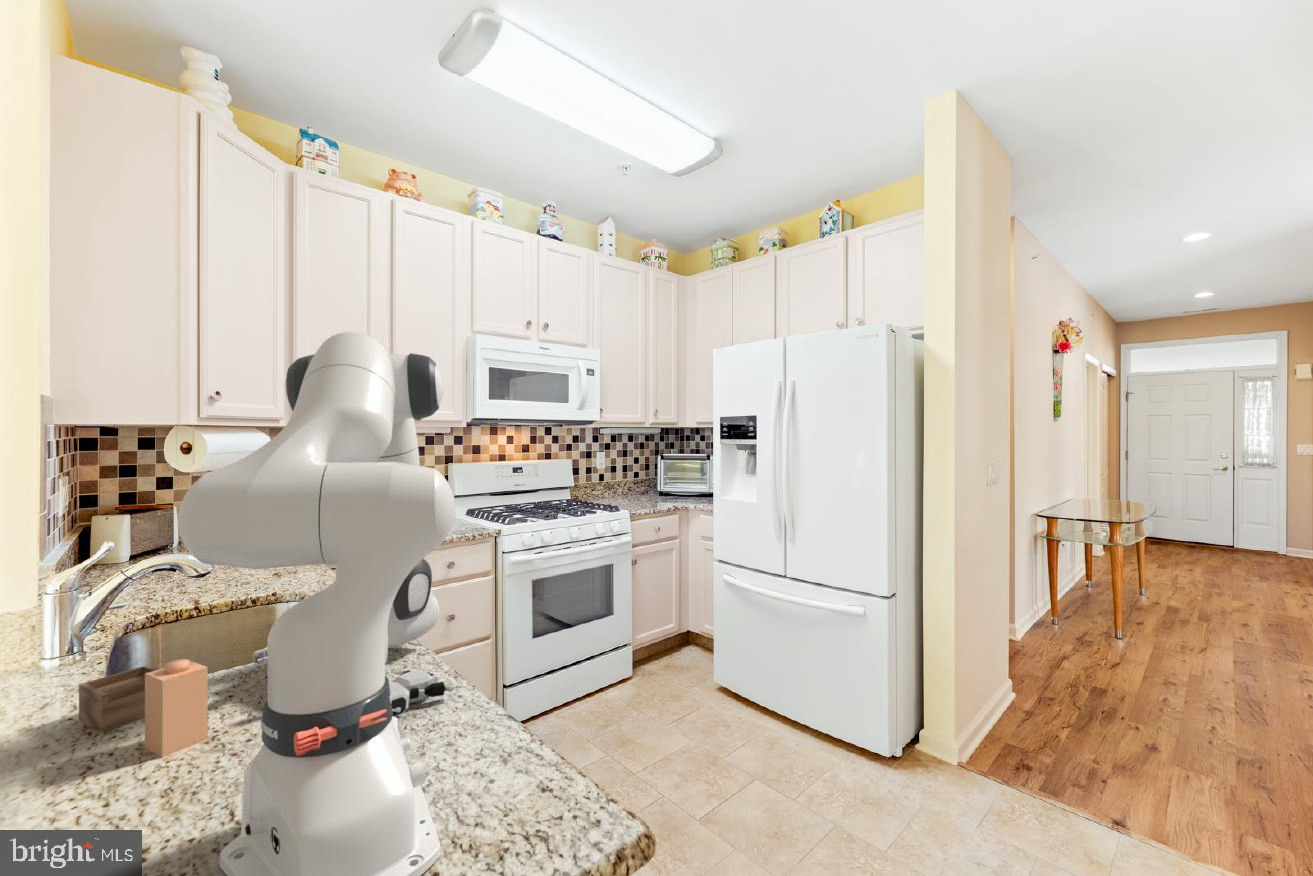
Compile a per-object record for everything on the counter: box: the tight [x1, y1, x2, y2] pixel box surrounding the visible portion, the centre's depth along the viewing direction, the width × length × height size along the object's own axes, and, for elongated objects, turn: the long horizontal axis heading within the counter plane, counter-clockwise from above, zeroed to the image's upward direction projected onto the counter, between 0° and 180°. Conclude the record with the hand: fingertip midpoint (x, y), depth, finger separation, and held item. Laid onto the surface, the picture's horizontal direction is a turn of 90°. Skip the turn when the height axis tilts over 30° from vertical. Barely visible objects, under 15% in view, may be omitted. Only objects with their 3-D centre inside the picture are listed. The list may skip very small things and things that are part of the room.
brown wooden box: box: [78, 664, 160, 733], centre depth 84 cm, size 8×8×5 cm
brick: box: [144, 658, 209, 758], centre depth 76 cm, size 5×5×11 cm
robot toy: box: [389, 669, 456, 718], centre depth 86 cm, size 12×4×15 cm
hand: (272, 664), depth 87 cm, fingers open, 8 cm apart
